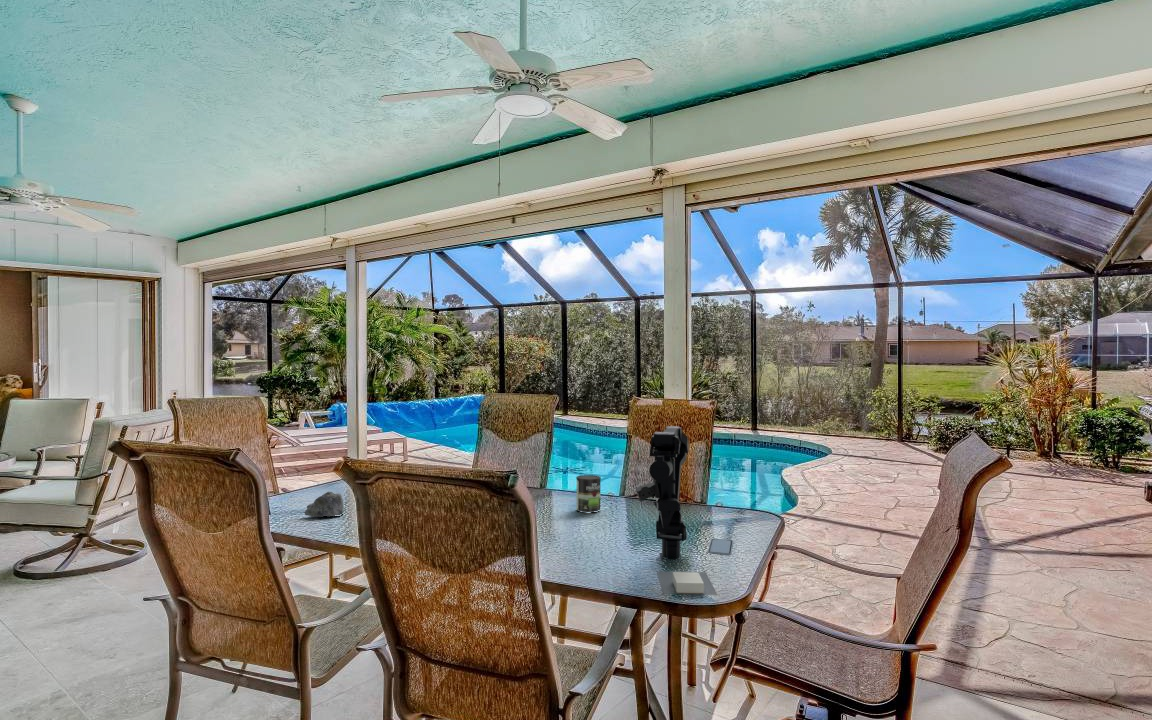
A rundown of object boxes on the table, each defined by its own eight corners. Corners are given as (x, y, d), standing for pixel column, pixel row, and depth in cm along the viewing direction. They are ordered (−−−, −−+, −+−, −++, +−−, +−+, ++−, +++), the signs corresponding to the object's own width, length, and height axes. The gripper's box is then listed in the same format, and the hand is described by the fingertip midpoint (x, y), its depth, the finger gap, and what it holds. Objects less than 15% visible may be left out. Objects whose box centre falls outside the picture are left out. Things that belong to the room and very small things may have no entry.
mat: (656, 574, 166) (656, 571, 166) (705, 575, 165) (705, 572, 166) (663, 597, 150) (663, 593, 150) (717, 598, 149) (717, 594, 149)
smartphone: (707, 552, 186) (711, 538, 200) (707, 555, 186) (711, 541, 200) (731, 554, 184) (733, 540, 198) (731, 557, 184) (733, 542, 198)
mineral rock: (302, 518, 228) (303, 493, 228) (321, 512, 238) (322, 487, 238) (330, 521, 224) (330, 495, 224) (348, 514, 234) (348, 489, 234)
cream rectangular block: (672, 572, 158) (676, 582, 150) (698, 572, 157) (703, 583, 149) (672, 582, 158) (676, 593, 150) (698, 582, 157) (703, 594, 149)
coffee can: (605, 511, 240) (605, 477, 240) (583, 514, 235) (583, 480, 235) (592, 506, 249) (592, 473, 249) (571, 509, 244) (571, 476, 244)
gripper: (634, 469, 178) (634, 519, 178) (640, 480, 160) (640, 537, 159) (670, 469, 178) (670, 520, 178) (680, 481, 159) (680, 537, 159)
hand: (664, 528), depth 169 cm, fingers closed
